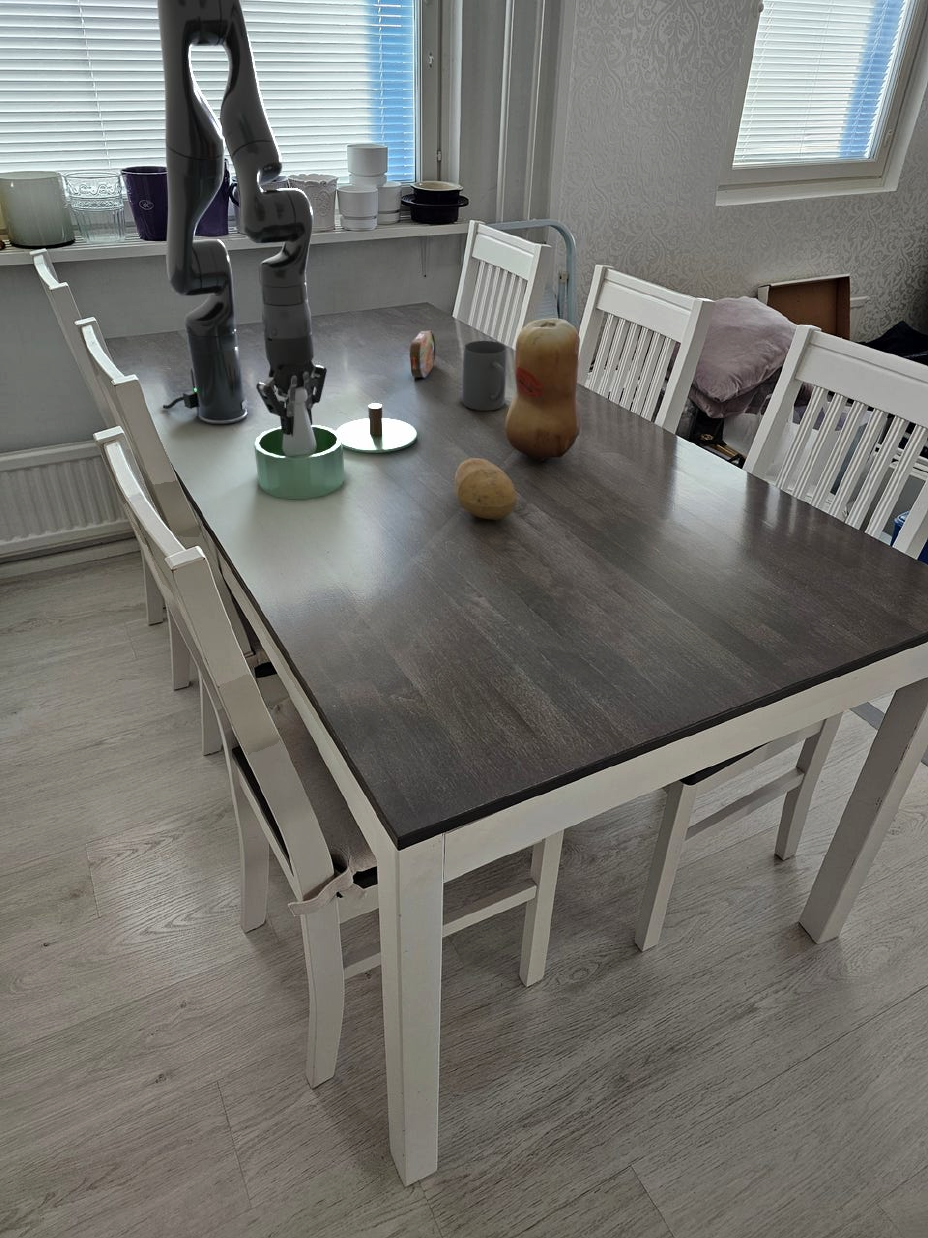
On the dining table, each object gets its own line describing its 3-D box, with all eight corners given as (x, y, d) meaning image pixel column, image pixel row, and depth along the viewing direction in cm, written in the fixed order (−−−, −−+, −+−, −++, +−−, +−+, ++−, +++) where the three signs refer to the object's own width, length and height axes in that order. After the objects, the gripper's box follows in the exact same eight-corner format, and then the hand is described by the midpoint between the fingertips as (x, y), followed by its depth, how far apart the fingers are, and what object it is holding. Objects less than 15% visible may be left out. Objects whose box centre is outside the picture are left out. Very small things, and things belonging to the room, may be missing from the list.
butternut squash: (489, 456, 160) (494, 320, 146) (534, 436, 168) (543, 305, 154) (547, 479, 152) (559, 337, 138) (591, 457, 161) (607, 322, 146)
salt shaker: (285, 452, 150) (277, 380, 142) (318, 452, 150) (312, 379, 143) (282, 466, 145) (274, 392, 138) (316, 466, 146) (310, 392, 138)
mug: (455, 398, 185) (456, 342, 178) (493, 393, 188) (495, 338, 181) (481, 421, 174) (483, 362, 167) (521, 415, 177) (524, 357, 171)
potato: (473, 538, 134) (475, 492, 130) (442, 500, 145) (443, 456, 140) (529, 528, 137) (533, 483, 133) (495, 491, 148) (497, 448, 143)
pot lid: (322, 448, 162) (319, 414, 158) (356, 419, 174) (354, 387, 170) (398, 460, 158) (397, 426, 154) (428, 430, 170) (428, 397, 166)
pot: (243, 491, 146) (237, 450, 142) (285, 458, 158) (281, 419, 153) (321, 505, 142) (317, 464, 138) (357, 470, 154) (355, 431, 150)
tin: (421, 382, 192) (421, 345, 188) (408, 381, 193) (407, 344, 188) (436, 362, 205) (436, 326, 200) (423, 361, 205) (423, 325, 200)
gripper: (304, 316, 142) (312, 415, 151) (237, 334, 132) (250, 439, 142) (336, 324, 138) (342, 426, 148) (269, 344, 129) (281, 451, 138)
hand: (297, 432), depth 145 cm, fingers closed on salt shaker, 3 cm apart
